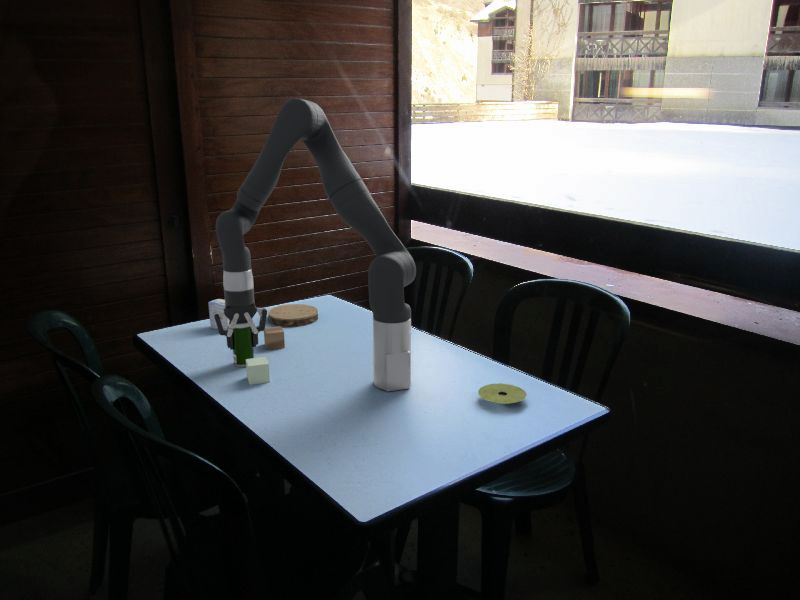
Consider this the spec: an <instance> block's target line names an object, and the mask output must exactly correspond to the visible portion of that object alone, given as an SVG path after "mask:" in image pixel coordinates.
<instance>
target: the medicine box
mask: <svg viewBox="0 0 800 600" xmlns="http://www.w3.org/2000/svg"><path fill="white" fill-rule="evenodd" d="M224 309H225V299H222V298H217V299H213V300H211V301H208V313H209V324H210V328H211V329H215V330H218V327H217V324H216V321H215V317H214V312H222V311H224ZM228 323H229V319H228V318H227V317H226V316H225V315H224V316H223V320H221V324H222V327H223V329H224V330H227V327H228Z"/></svg>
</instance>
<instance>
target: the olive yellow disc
mask: <svg viewBox="0 0 800 600" xmlns="http://www.w3.org/2000/svg"><path fill="white" fill-rule="evenodd" d="M477 393H478V396H479V397H480V398H481V399H483V400H485V401H488V402H492V403H494V404H495V403H496V404H504V405H505V404H516V403H519V402H522V401H523V400H525V399H526V398H527V396H528V395H527V392H526V390H524V389H522V388H521V387H519V386H516V385H513V384H509V383H508V384H507V383H501V382H500V383H490V384H489V383H488V384H486V385H483V386H481V387H480V388H479V389H478V391H477Z"/></svg>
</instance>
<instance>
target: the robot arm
mask: <svg viewBox="0 0 800 600" xmlns="http://www.w3.org/2000/svg"><path fill="white" fill-rule="evenodd" d="M299 140H300V141H302V143H303V144H304V145H305V147H306V148H307V149H308V151H309V152H310V154H311V155H312V157H313V159H314V160H315V164H316V165H317V168H318V171H319V175H320V179H321V183H322V184H321V185H322V188H323V189H324V190H323V191H324V193H325V194H326V196H327V199H328V200H329V202H330V204H331V205H332V207H333V209H334V211H335V212H336V213H337V215H338V216H339V217H340V219H341V220H342V221H343V222H344V223H345V224H346V225H348V226H349V228H351V229H352V230H353V231H355V232H356V233H357V234H358V235H359V236H361V237H362V238H363V240H365V242H366V243H367V244H368V245H369V247H370V248H371V250H372V251H373V253H374V255H375V258H374V259H372V261H371V262H370V264H369V267H368V275H367V282H368V284H367V285H368V299H369V301H368V302H369V307H370V309H371V311H372V326H373V327H372V338H373V339H372V342H373V344H372V345H373V347H372V349H373V352H372V353H373V358H372V359H373V360H372V363H373V385H374V386H375V387H376V388H378V389H380V390H384V391H385V392H387V393H388V392H395V391H402V390H406V389H407V390H408V389H411V384H412V381H411V380H412V379H411V378H412V376H411V375H412V370H411V369H412V365H411V364H412V361H411V360H412V359H411V358H412V357H411V356H412V351H411V350H412V347H411V346H412V308H411V306H410V305H409V304H408V303H405V289H404V288H405V287H406V286H407V287H408V285H409V286H410V284H412V283H413V282H414V280H415V278H416V276H417V275H416V274H417V266H416V263H415V260H414V258H413V256H412V255H411V253H410V252H409V250H407V248H406V246H404V244H403V243H402V241H401V239H399V238H398V236H397V235H396V234H395V232H394V230H393V229H392V228H391V226H390V225H389V223H388V221H387V220H386V217H385V216H384V214H383V213H382V211H381V210H380V208H379V206H378V205H377V203H376V201H375V200H374V198H373V196H372V194H371V192H370V191H369V188H368V187H367V185H366V184H365V182H364V181H363V179H362V177H361V176H360V174H359V173H358V171H357V169H355V167H354V165H353V164H352V161H351V160H350V158H349V157H348V155H347V154H346V152H344V150H343V148H342V147H341V144H340V143H339V142H338V139H337V137H336V135H335V133H334V131H333V129H332V126H331V125H330V122H329V120H328V118H327V115H326V114H325V112H324V109H323V108H321V107H320V106H319V105H318V103H315V102H313V101H311V100H307V99H304V98H299V97H295V98H294V97H293V98H290V99H288V100H286V101H285V102H284V103H283V104H282V106H281V107H280V110H279V111H278V113H277V116H276V117H275V120H274V122H273V124H272V127H271V129H270V132H269V134H268V137H267V139H266V141H265V143H264V145H263V147H262V149H261V150H260V151H261V152H260V153H259V156H258V157H257V159H256V162H255V163H254V164H253V166H252V167H251V169H250V171H249V172H248V174H247V176H246V177H245V179H244V180H243V181H242V184H241V185H240V186H239V188H238V190H237V192H236V200H235V202H234V203H233V205H232V207H231V208H230V209H229V210H226V211H224V212H221V213H220V214H219V215H218V216H217V218H216V222H215V234H216V239H217V241H218V244H219V248H220V251H221V254H222V255H221V256H222V269H223V273H222V274H223V275H222V276H223V277H222V280H223V281H222V285H223V294H224V300H225V309H224V311H222V312H214V317H215V321H216V324H217V327H218V329H217V330H218V333H219V335H220V336H225V337H226V347H227V348H228V349H230V351H233V338H232V332H233V329H234V327H235V324H236V323H242V322H249V325H250V327H251V329H252V334H253V348H257V346H258V345H259V333H260V332H264V330H265V328H266V324H267V318H268V309H267V308H266V307H265V306H262V307H257V306H256V302H255V288H254V275H253V271H252V270H253V269H252V259H251V258H252V257H251V252H250V251H251V250H250V249H249V248H248V246H246V245H245V239H244V235H246V234H247V233H248V232H249V231H250V230H251V228H253V226H254V224H255V222H256V221H257V218H258V217H259V214H260V211H261V209H262V207H263V206H264V205H265V203H266V202H267V200H268V199H269V197H270V196H271V194H272V192H273V190H274V189H275V187H276V186H277V184H278V182H279V178H280V175H281V173H282V168H283V165H284V162H285V161H286V159H287V156H288V155H289V153H290V152H291V150H292V149H293V148H294V147H295V145H297V143H298V142H299ZM257 313H258V316H259V322H258V325H257V326H256V324H255V322H254V321H253V319H254V317H255V315H256V314H257ZM224 315H225V316H226V317H227V318H228V319H229V323H228V327H227V330H224V329H223V327H222V324H221V320H223V316H224Z"/></svg>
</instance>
